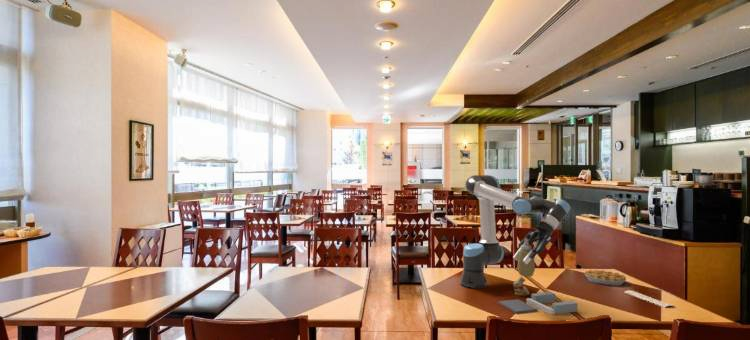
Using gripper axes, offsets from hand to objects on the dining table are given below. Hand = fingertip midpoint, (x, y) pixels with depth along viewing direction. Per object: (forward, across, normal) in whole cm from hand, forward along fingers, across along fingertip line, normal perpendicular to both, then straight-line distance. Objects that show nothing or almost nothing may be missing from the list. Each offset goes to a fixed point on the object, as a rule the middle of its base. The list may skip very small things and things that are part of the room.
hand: (520, 260), depth 177 cm
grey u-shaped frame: (+5, -3, -28) cm, 28 cm away
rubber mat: (+17, +1, -16) cm, 23 cm away
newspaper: (-35, -9, -70) cm, 78 cm away
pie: (-41, +23, -75) cm, 89 cm away
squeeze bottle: (+3, 0, -8) cm, 8 cm away
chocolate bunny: (+6, +17, -27) cm, 33 cm away
